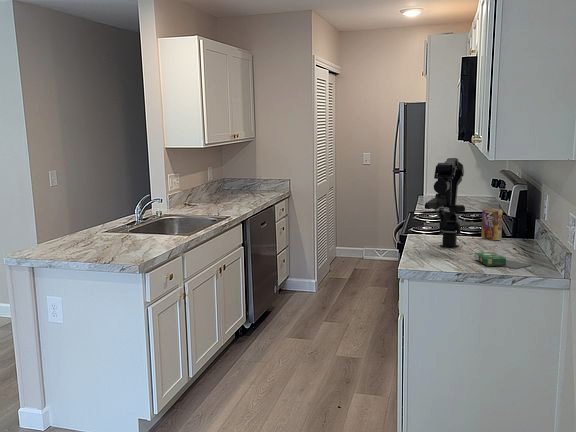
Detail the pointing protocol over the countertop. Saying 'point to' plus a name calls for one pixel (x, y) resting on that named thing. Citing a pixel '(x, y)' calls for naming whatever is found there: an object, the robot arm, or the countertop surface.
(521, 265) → the mat
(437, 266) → the countertop surface
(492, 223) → the candy box
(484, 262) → the coffee box
